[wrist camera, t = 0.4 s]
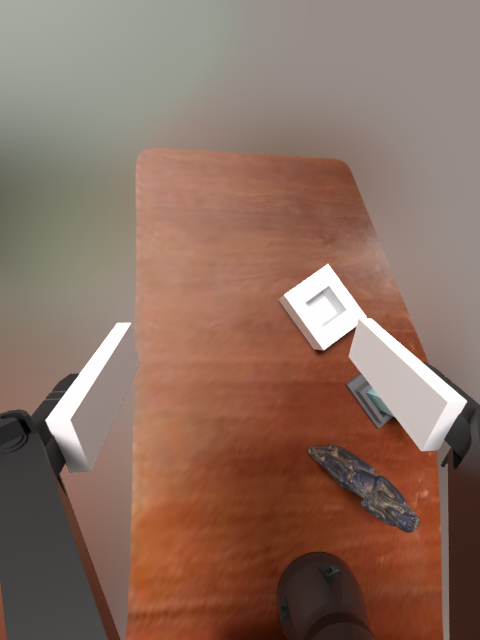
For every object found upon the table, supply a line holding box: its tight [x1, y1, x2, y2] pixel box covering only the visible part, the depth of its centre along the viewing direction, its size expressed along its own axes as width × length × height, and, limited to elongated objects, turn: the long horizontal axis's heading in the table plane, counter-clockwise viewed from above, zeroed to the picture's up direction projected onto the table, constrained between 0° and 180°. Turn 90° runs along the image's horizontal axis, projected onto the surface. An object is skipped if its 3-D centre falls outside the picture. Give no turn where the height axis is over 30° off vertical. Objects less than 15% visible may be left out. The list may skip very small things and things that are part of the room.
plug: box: [366, 388, 395, 417], centre depth 43 cm, size 4×4×12 cm
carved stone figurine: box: [308, 444, 420, 533], centre depth 41 cm, size 6×12×15 cm, turn 65°
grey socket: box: [345, 372, 394, 429], centre depth 48 cm, size 10×8×3 cm
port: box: [278, 264, 367, 350], centre depth 48 cm, size 12×10×5 cm
